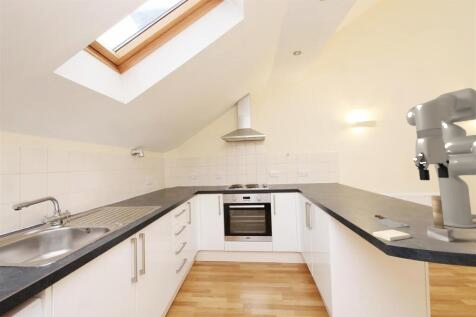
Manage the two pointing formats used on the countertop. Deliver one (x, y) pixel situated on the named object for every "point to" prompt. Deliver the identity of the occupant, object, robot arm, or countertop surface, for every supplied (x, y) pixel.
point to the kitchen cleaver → (389, 222)
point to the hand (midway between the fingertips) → (434, 179)
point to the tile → (391, 235)
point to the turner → (439, 222)
